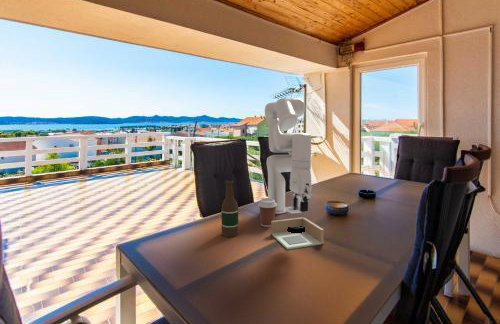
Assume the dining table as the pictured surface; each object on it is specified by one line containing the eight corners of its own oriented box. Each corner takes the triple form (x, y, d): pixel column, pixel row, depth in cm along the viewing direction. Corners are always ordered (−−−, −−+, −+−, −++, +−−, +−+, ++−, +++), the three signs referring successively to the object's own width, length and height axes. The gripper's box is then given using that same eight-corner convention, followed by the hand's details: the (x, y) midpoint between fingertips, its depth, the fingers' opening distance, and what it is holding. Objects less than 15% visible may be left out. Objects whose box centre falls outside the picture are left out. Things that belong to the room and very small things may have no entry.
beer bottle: (241, 231, 120) (241, 179, 118) (235, 238, 113) (234, 182, 110) (225, 229, 123) (224, 178, 120) (218, 236, 116) (217, 181, 113)
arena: (271, 234, 118) (271, 221, 117) (303, 229, 122) (303, 217, 122) (287, 249, 102) (287, 234, 102) (323, 243, 107) (323, 229, 107)
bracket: (298, 208, 111) (298, 194, 110) (304, 212, 106) (304, 197, 106) (285, 210, 109) (285, 195, 109) (290, 213, 104) (291, 198, 104)
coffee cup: (254, 224, 130) (254, 200, 128) (266, 219, 136) (266, 196, 135) (268, 229, 123) (268, 204, 122) (280, 224, 130) (281, 200, 128)
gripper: (283, 162, 113) (283, 204, 115) (303, 167, 97) (302, 216, 99) (299, 162, 116) (298, 203, 118) (321, 166, 99) (320, 214, 102)
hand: (300, 208), depth 108 cm, fingers closed on bracket, 5 cm apart
